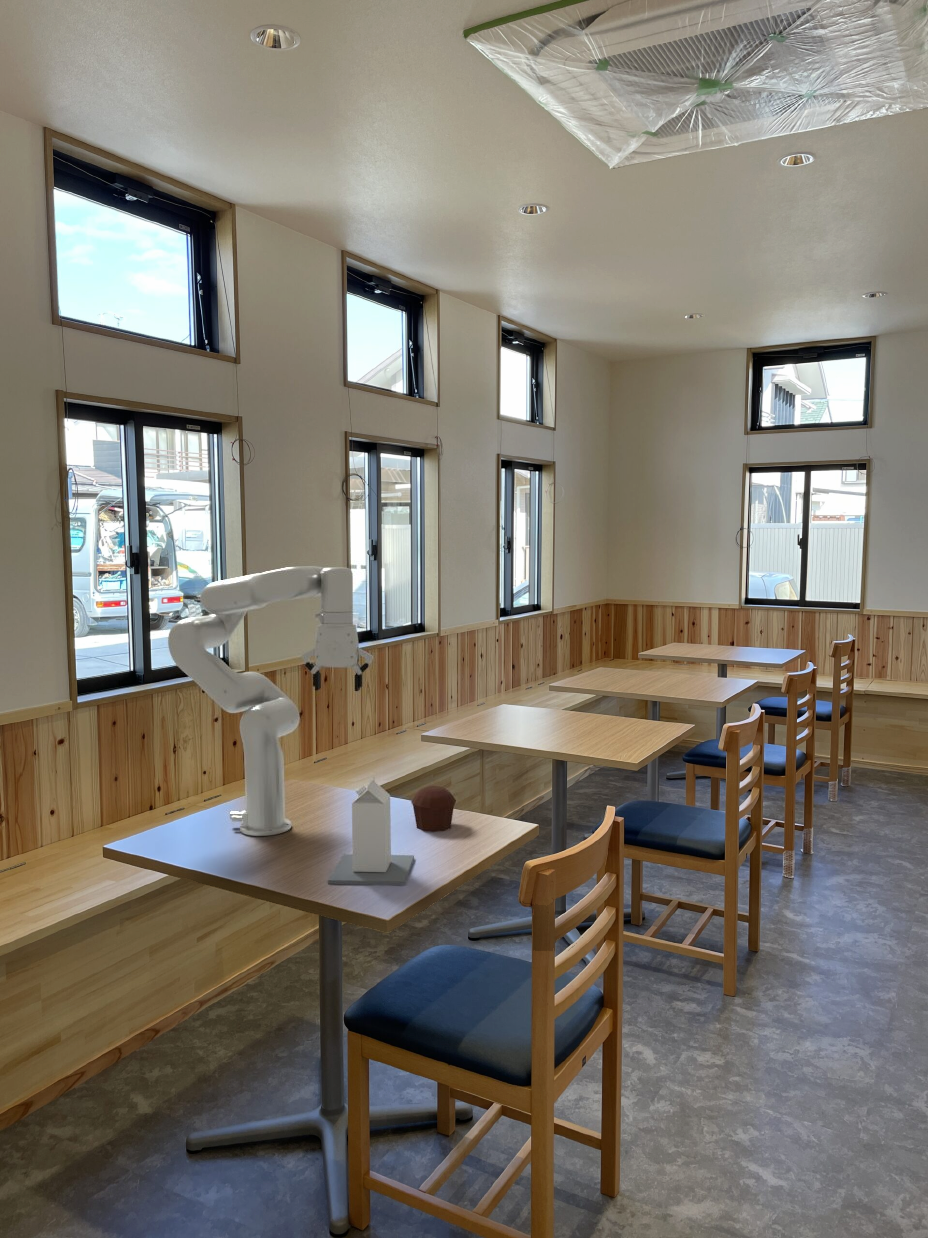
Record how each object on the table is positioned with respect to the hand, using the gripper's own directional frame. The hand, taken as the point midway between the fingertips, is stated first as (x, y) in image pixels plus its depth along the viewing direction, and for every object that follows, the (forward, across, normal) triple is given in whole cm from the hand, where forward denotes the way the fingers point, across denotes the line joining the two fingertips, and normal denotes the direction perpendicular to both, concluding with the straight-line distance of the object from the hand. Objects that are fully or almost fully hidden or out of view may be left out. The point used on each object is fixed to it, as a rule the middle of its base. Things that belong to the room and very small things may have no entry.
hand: (337, 690), depth 213 cm
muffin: (+36, +22, +10) cm, 43 cm away
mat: (+36, +13, -22) cm, 44 cm away
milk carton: (+35, +13, -22) cm, 44 cm away
